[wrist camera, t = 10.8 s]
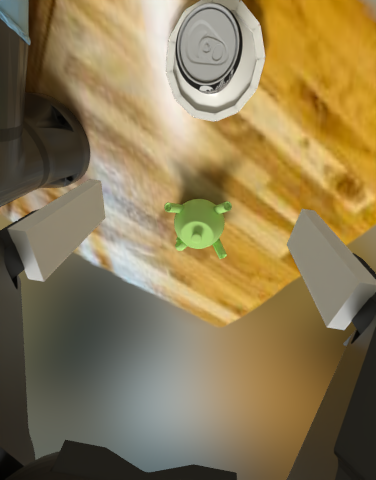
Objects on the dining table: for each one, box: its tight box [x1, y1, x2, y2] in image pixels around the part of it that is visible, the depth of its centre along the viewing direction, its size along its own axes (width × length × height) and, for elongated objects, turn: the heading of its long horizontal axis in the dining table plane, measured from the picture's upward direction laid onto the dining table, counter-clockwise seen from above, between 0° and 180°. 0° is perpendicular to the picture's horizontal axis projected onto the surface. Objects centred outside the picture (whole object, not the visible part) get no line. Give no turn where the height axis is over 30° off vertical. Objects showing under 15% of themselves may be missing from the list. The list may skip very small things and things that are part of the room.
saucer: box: [166, 0, 265, 122], centre depth 30 cm, size 13×13×2 cm
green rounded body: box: [164, 199, 232, 259], centre depth 40 cm, size 11×12×8 cm
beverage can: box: [175, 3, 243, 94], centre depth 25 cm, size 7×7×12 cm
